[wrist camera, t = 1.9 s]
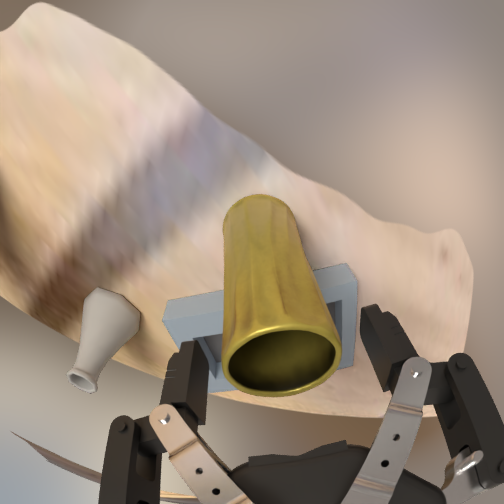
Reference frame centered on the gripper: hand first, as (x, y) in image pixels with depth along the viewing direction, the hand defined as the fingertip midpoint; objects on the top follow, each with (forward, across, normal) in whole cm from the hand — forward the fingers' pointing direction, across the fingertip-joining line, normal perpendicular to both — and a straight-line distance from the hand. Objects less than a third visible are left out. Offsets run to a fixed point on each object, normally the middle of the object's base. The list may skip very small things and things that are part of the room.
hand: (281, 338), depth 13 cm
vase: (+12, 0, 0) cm, 13 cm away
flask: (+12, +18, +6) cm, 23 cm away
